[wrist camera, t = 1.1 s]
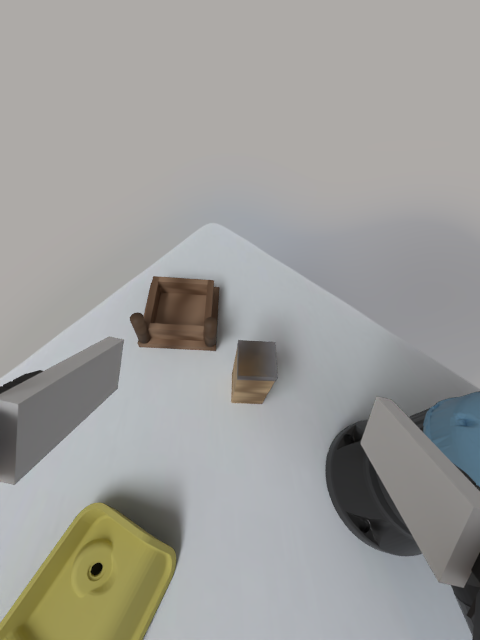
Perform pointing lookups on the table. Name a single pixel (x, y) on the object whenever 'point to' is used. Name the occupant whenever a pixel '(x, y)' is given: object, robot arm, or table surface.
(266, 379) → the block
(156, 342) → the brown square open box
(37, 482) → the table surface
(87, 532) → the plastic component
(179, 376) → the table surface
